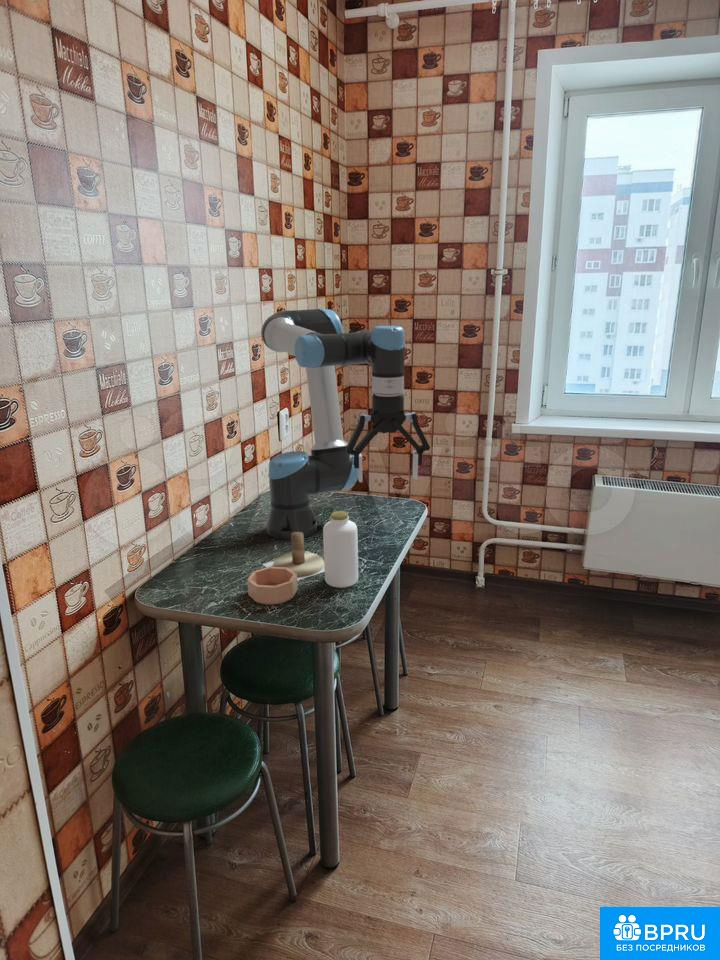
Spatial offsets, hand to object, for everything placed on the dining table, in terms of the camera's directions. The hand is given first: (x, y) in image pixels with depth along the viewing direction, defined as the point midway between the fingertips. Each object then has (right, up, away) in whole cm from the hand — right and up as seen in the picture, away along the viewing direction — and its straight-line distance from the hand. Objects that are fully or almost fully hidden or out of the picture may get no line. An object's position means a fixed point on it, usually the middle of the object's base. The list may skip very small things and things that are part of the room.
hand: (387, 479), depth 160 cm
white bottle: (-11, -26, +2) cm, 28 cm away
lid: (-23, -23, +10) cm, 34 cm away
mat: (-23, -23, +10) cm, 34 cm away
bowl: (-27, -28, -5) cm, 39 cm away
